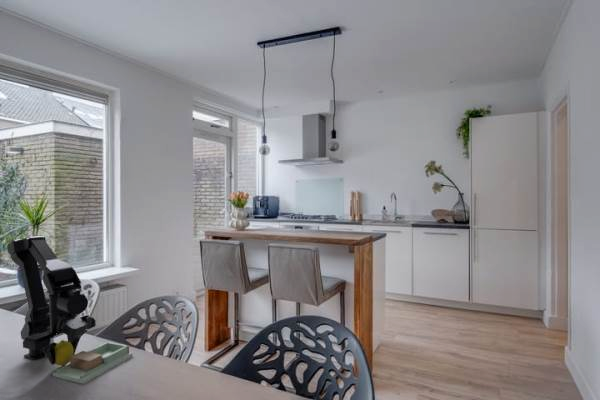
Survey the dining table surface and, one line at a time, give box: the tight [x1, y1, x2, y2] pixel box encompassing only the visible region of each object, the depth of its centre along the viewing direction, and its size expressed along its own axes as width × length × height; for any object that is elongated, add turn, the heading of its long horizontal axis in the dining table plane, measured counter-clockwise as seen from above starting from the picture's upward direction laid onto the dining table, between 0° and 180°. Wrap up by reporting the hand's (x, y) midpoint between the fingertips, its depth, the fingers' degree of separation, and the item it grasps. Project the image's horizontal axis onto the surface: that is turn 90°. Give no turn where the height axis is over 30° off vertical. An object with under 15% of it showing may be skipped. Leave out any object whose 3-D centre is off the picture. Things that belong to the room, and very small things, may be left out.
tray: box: [52, 341, 134, 385], centre depth 107 cm, size 12×17×3 cm
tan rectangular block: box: [69, 350, 102, 371], centre depth 104 cm, size 8×4×3 cm, turn 69°
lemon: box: [54, 339, 75, 368], centre depth 107 cm, size 6×6×8 cm
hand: (63, 359), depth 107 cm, fingers closed on lemon, 5 cm apart
